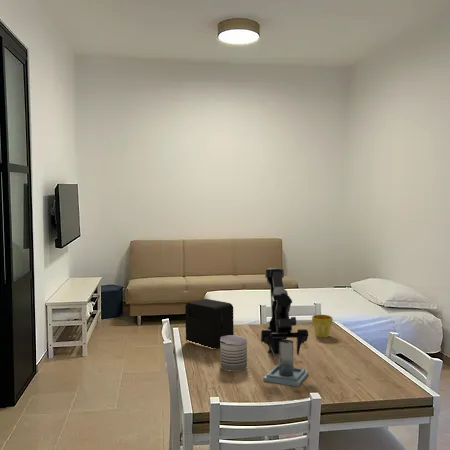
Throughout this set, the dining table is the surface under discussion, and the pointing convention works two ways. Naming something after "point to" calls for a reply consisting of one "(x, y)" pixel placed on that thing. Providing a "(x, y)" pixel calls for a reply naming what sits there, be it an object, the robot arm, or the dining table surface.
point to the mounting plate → (292, 380)
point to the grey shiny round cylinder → (286, 358)
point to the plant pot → (322, 325)
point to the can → (233, 352)
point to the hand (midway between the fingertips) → (286, 354)
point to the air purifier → (208, 321)
